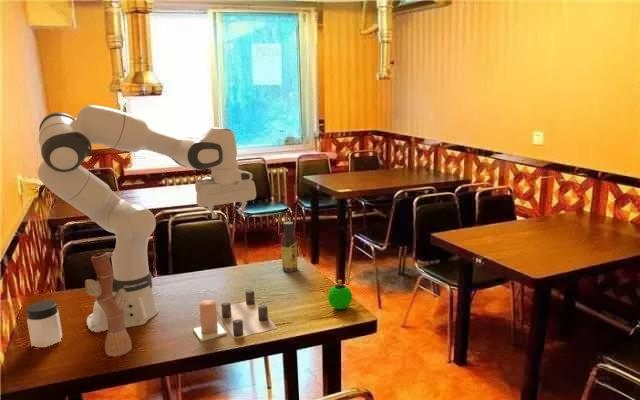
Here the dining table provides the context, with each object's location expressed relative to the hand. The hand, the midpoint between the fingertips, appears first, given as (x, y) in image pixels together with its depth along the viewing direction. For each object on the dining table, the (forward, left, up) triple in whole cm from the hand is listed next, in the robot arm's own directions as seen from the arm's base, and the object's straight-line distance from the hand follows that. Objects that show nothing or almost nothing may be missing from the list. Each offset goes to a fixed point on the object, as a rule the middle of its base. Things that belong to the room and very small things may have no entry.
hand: (228, 215), depth 174 cm
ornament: (+28, -26, -31) cm, 49 cm away
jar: (-59, +3, -31) cm, 67 cm away
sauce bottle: (+30, +16, -31) cm, 46 cm away
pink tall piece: (-42, -14, -31) cm, 54 cm away
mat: (-15, -18, -31) cm, 39 cm away
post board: (-2, -15, -32) cm, 35 cm away
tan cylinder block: (-15, -18, -30) cm, 38 cm away
